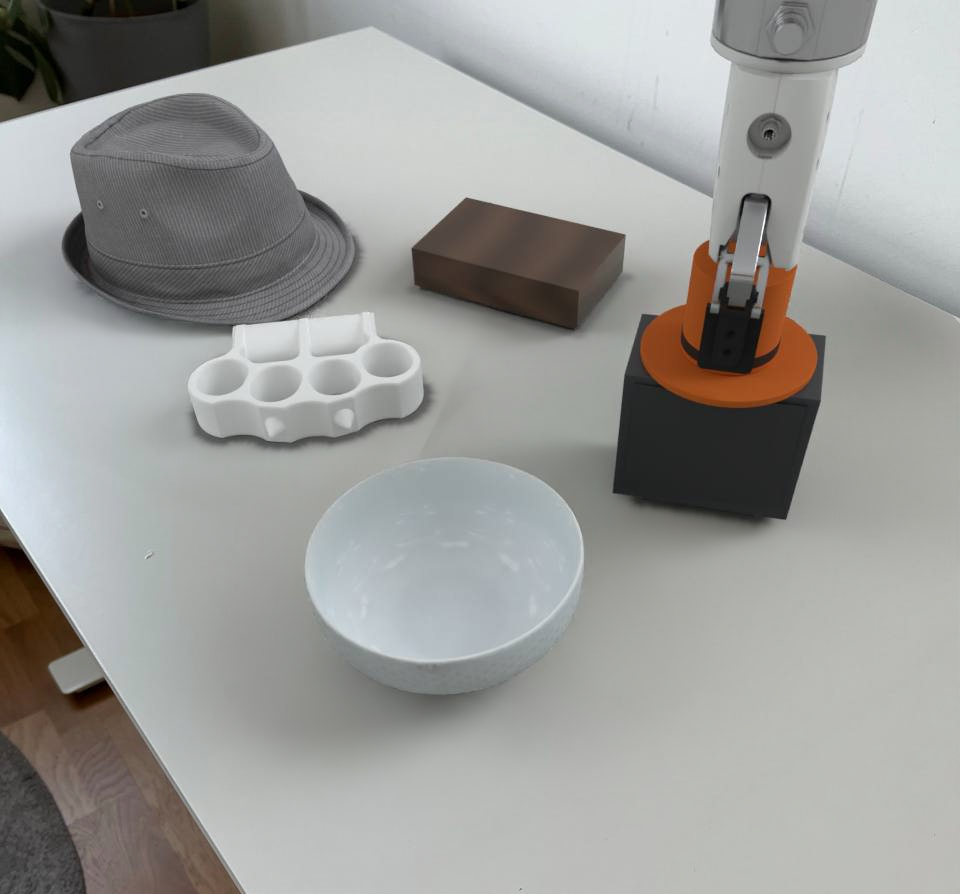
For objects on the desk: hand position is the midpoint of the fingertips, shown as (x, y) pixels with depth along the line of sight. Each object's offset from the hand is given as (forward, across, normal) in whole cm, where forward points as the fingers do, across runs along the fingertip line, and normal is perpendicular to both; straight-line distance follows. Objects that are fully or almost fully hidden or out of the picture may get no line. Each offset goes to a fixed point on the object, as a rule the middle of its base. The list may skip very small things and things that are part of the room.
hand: (732, 324), depth 61 cm
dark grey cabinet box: (+13, 0, 0) cm, 13 cm away
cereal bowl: (+13, -17, +14) cm, 26 cm away
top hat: (+2, 0, 0) cm, 2 cm away
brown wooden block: (+13, +23, +19) cm, 33 cm away
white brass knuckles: (+13, +4, +32) cm, 35 cm away
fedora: (+13, +22, +49) cm, 55 cm away
